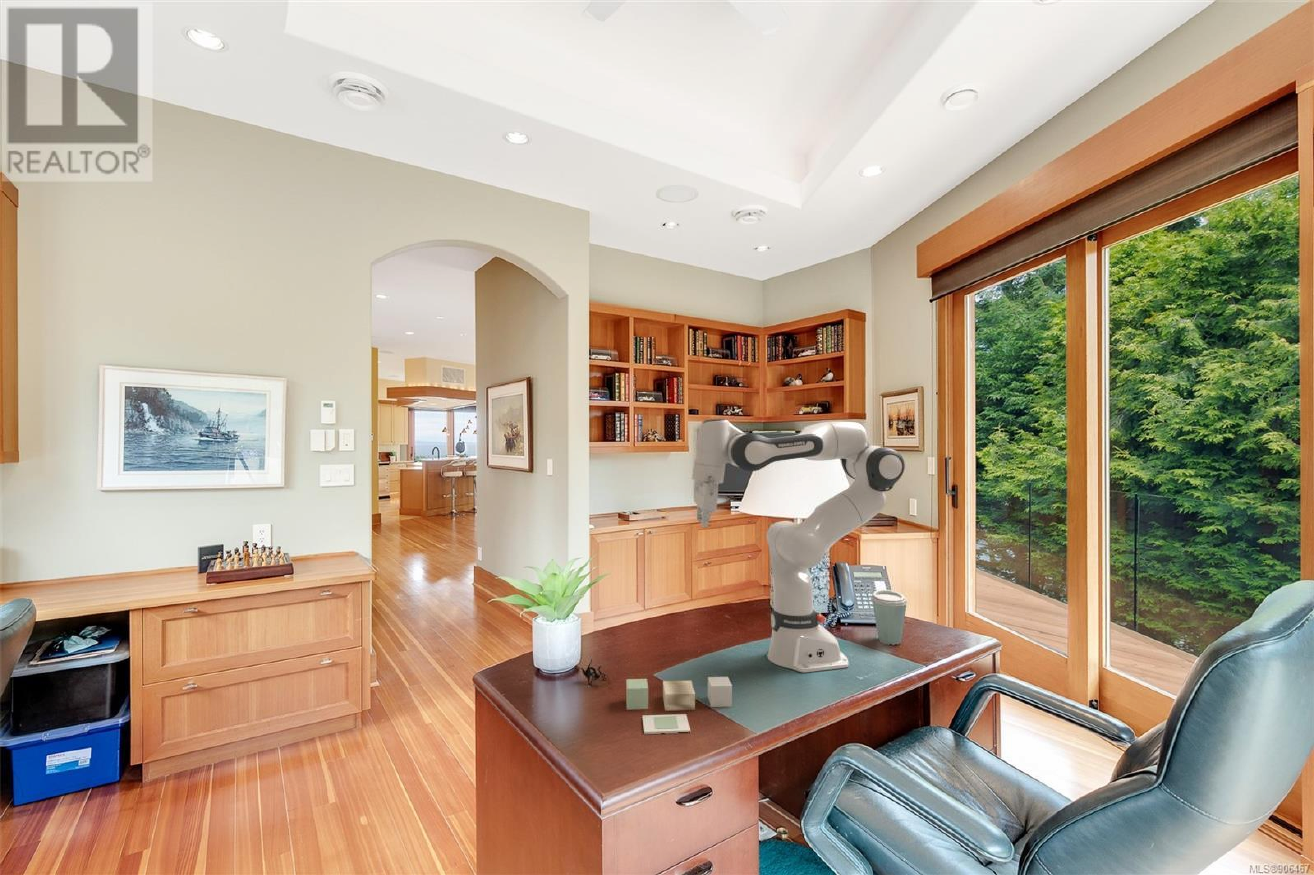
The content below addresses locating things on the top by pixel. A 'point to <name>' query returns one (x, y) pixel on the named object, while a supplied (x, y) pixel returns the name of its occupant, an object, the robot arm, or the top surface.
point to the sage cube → (636, 694)
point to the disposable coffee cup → (889, 615)
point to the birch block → (678, 695)
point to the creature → (596, 676)
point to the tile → (665, 724)
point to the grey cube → (719, 692)
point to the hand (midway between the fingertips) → (702, 523)
